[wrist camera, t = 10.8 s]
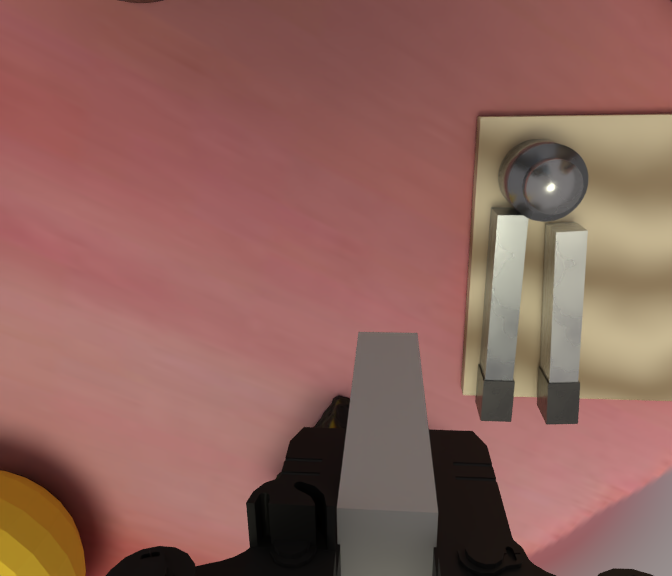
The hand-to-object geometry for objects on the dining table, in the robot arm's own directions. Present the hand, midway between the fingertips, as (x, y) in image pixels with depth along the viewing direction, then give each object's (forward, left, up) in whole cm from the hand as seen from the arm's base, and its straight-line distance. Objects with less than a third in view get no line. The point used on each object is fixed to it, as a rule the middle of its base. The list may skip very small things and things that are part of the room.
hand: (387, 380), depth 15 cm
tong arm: (+5, +10, -23) cm, 26 cm away
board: (+4, +14, -24) cm, 28 cm away
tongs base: (+5, +9, -23) cm, 25 cm away
